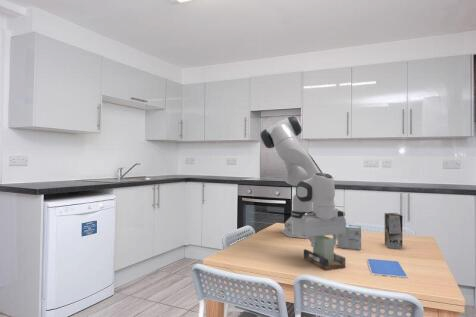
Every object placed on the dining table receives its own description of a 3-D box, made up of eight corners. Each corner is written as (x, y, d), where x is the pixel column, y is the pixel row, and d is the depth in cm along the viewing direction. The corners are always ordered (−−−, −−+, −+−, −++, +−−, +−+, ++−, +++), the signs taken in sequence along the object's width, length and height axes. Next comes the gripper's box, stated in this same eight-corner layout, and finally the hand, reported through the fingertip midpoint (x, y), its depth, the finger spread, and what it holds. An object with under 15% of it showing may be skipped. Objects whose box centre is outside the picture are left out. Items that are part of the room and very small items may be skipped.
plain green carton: (324, 262, 129) (324, 240, 129) (313, 257, 137) (313, 235, 137) (334, 261, 131) (334, 239, 131) (322, 256, 138) (322, 235, 138)
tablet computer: (408, 280, 116) (408, 276, 116) (371, 276, 120) (371, 272, 120) (398, 264, 135) (398, 261, 135) (366, 261, 138) (366, 258, 138)
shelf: (303, 258, 139) (303, 249, 140) (321, 256, 143) (321, 247, 143) (325, 270, 124) (325, 260, 125) (345, 267, 128) (345, 257, 128)
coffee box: (403, 249, 156) (403, 215, 156) (388, 248, 157) (388, 215, 157) (397, 244, 165) (397, 212, 165) (384, 243, 166) (384, 212, 166)
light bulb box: (361, 247, 160) (361, 225, 160) (360, 250, 154) (360, 227, 154) (338, 244, 164) (338, 223, 164) (337, 247, 158) (337, 225, 158)
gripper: (306, 214, 127) (306, 250, 127) (348, 212, 134) (348, 245, 134) (297, 212, 133) (297, 246, 133) (338, 210, 140) (338, 242, 140)
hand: (323, 245), depth 134 cm, fingers open, 8 cm apart
